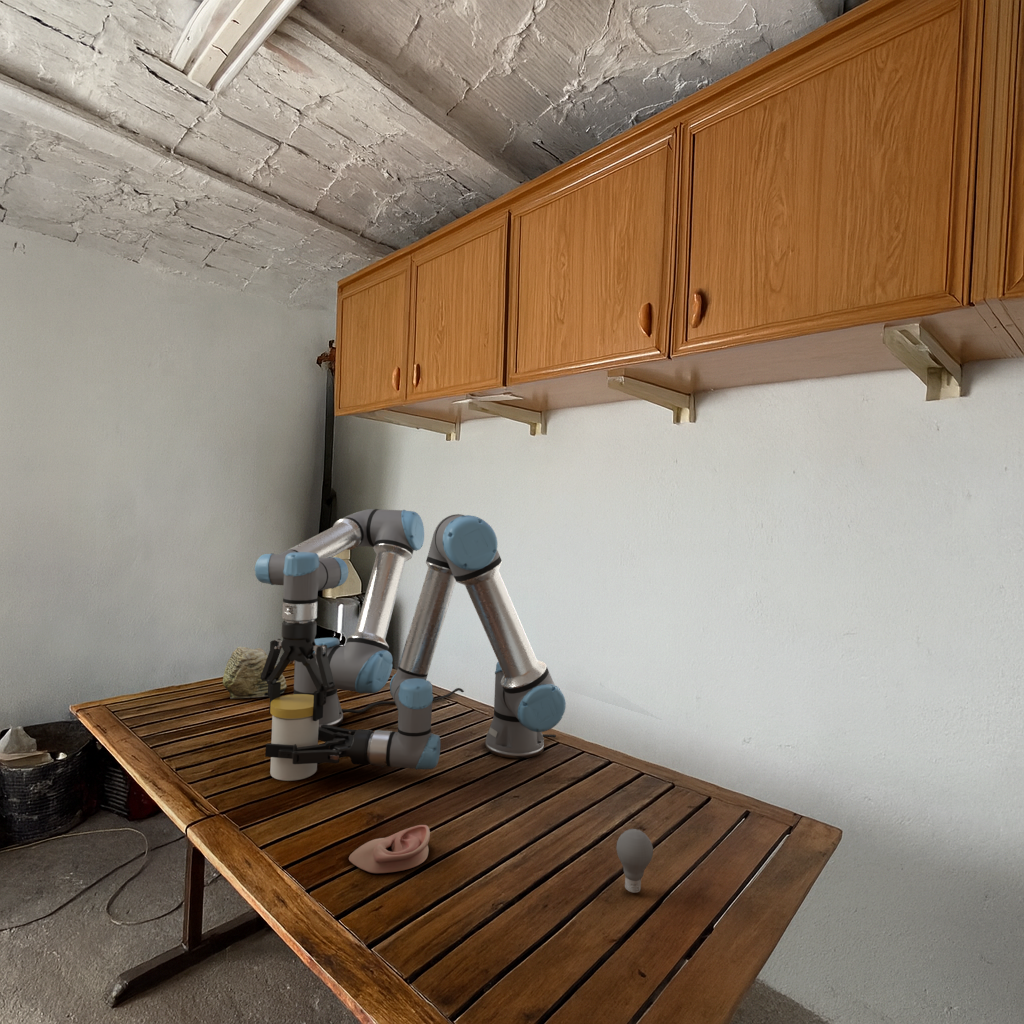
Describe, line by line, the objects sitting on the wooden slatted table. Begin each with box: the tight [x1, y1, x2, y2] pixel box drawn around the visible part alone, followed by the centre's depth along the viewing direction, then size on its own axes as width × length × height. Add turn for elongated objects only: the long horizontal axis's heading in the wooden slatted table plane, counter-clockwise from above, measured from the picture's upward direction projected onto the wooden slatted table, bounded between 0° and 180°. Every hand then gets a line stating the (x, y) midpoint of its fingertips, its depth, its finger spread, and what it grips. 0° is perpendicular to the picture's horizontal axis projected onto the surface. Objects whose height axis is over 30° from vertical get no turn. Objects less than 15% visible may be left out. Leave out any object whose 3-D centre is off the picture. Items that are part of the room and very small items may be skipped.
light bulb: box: [615, 828, 654, 894], centre depth 106 cm, size 6×6×10 cm
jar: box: [269, 715, 319, 782], centre depth 145 cm, size 10×10×15 cm
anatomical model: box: [348, 824, 431, 874], centre depth 113 cm, size 13×4×12 cm
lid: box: [269, 693, 314, 719], centre depth 145 cm, size 11×11×2 cm
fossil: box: [222, 646, 288, 699], centre depth 198 cm, size 9×18×15 cm, turn 132°
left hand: (295, 715), depth 145 cm, fingers closed on lid, 11 cm apart
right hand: (277, 740), depth 146 cm, fingers closed on jar, 10 cm apart
